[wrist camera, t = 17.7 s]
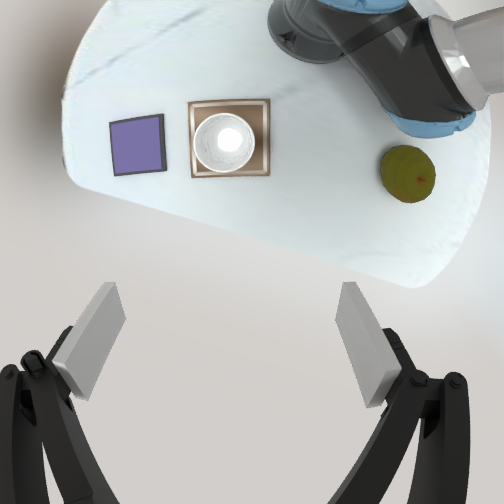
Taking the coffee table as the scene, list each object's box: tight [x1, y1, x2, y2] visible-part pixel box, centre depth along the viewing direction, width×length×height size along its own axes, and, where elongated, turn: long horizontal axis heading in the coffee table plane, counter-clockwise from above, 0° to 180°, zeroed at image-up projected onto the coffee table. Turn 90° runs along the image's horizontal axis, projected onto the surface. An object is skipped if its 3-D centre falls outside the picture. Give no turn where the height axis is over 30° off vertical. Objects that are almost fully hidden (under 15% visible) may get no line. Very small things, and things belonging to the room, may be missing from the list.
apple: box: [381, 145, 436, 203], centre depth 41 cm, size 10×10×11 cm
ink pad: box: [109, 114, 167, 176], centre depth 43 cm, size 10×10×1 cm
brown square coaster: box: [188, 99, 269, 178], centre depth 43 cm, size 13×13×1 cm
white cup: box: [193, 113, 255, 173], centre depth 38 cm, size 8×8×10 cm
